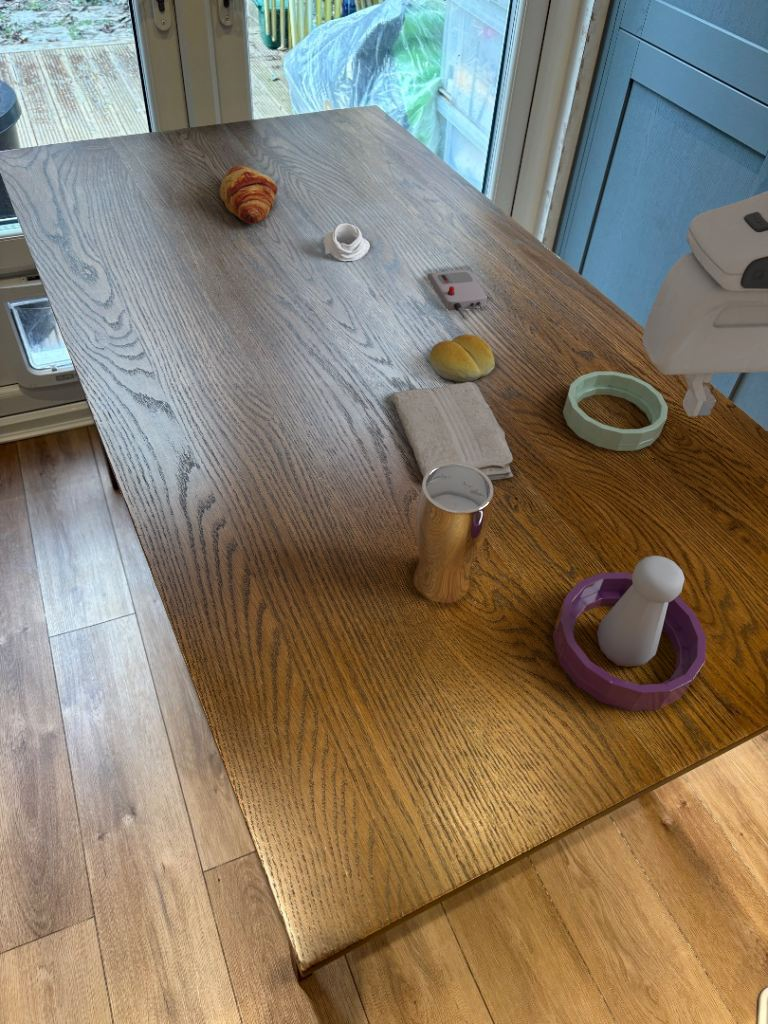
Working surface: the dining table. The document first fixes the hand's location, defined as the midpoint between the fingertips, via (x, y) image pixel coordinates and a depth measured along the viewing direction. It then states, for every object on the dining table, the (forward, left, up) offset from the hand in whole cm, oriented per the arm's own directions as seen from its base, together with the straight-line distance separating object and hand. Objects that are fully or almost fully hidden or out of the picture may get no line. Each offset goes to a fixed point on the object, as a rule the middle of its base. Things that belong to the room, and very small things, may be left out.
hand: (753, 409), depth 58 cm
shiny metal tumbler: (+21, -5, -28) cm, 35 cm away
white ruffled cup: (+28, -76, -28) cm, 86 cm away
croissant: (+45, -93, -28) cm, 107 cm away
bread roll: (+13, -44, -28) cm, 54 cm away
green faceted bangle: (-5, -31, -28) cm, 42 cm away
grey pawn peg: (+4, +4, -28) cm, 28 cm away
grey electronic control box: (+10, -63, -28) cm, 70 cm away
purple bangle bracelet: (+4, +4, -28) cm, 28 cm away
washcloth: (+17, -28, -28) cm, 43 cm away
